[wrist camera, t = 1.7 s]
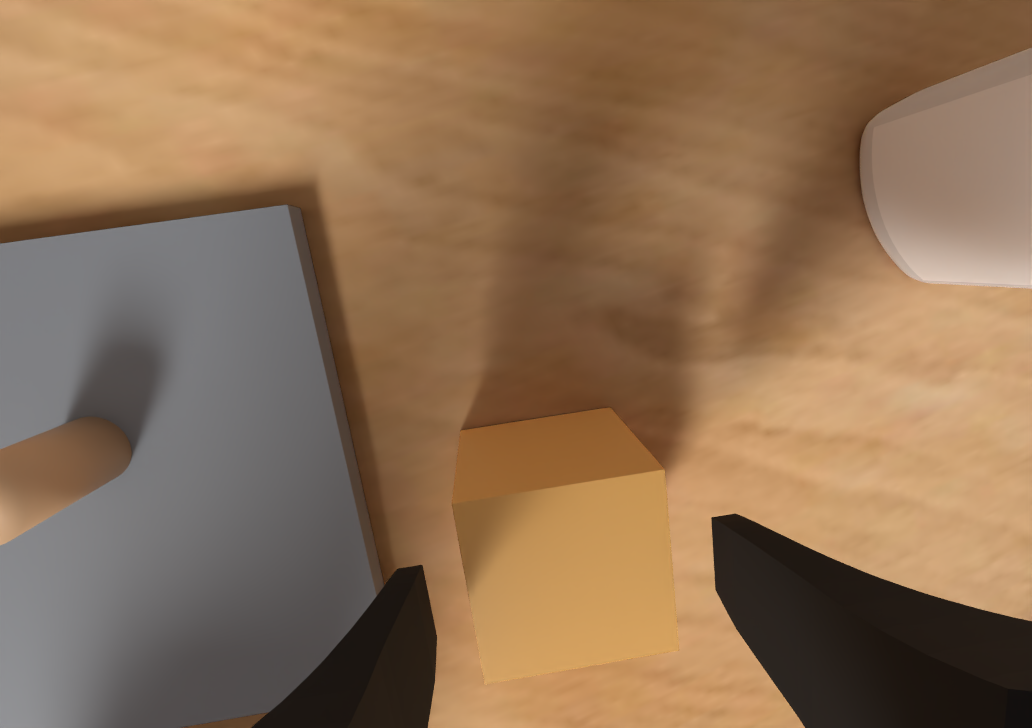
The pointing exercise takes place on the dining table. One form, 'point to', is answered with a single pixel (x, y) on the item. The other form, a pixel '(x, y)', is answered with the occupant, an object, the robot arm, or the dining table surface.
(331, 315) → the dining table surface
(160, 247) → the board
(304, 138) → the dining table surface
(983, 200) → the eye dropper bottle
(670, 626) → the mustard yellow cube
